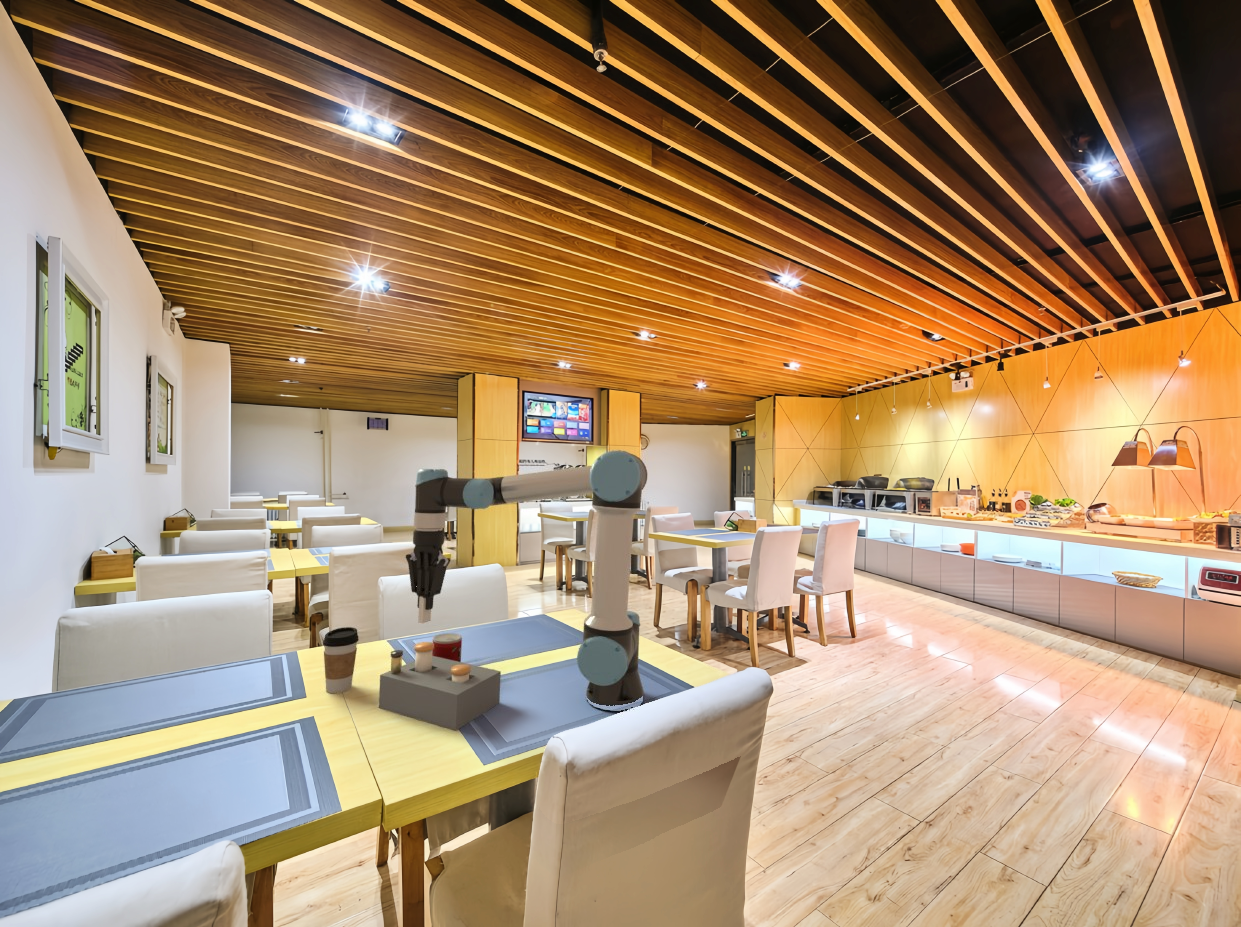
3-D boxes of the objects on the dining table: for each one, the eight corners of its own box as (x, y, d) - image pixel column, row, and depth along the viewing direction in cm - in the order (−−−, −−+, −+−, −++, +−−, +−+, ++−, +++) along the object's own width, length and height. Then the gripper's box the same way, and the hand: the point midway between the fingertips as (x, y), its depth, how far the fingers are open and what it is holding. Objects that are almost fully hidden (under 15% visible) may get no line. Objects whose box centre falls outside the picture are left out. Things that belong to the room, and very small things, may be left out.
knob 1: (436, 675, 132) (437, 643, 132) (423, 681, 128) (424, 649, 128) (423, 671, 134) (424, 640, 134) (409, 678, 130) (410, 646, 130)
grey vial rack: (499, 703, 131) (500, 671, 131) (455, 730, 116) (457, 695, 116) (427, 684, 140) (428, 655, 141) (378, 707, 126) (380, 674, 126)
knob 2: (473, 699, 127) (474, 666, 127) (460, 706, 123) (461, 672, 123) (458, 695, 129) (460, 663, 129) (445, 702, 125) (447, 669, 125)
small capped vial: (404, 671, 129) (405, 651, 129) (395, 675, 126) (396, 654, 126) (396, 669, 130) (397, 649, 130) (387, 673, 127) (388, 652, 127)
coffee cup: (363, 683, 140) (365, 627, 140) (343, 696, 131) (346, 637, 132) (334, 681, 140) (336, 626, 141) (312, 694, 132) (315, 635, 132)
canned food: (455, 681, 143) (456, 642, 143) (426, 680, 143) (428, 640, 143) (464, 671, 151) (465, 633, 151) (436, 670, 151) (438, 632, 151)
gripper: (459, 530, 132) (454, 622, 132) (421, 525, 138) (416, 614, 137) (438, 532, 126) (433, 629, 125) (398, 528, 131) (393, 621, 130)
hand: (424, 621), depth 131 cm, fingers closed
